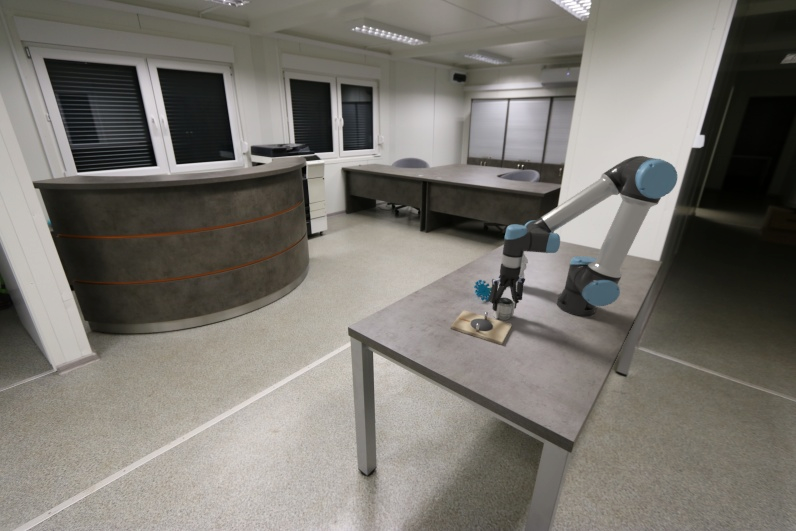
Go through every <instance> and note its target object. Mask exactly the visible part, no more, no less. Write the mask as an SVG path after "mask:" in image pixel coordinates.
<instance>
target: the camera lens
mask: <svg viewBox="0 0 796 531" xmlns="http://www.w3.org/2000/svg"><path fill="white" fill-rule="evenodd" d="M512 300H513V299H512V298H508V297H501V299H500V301H499V304H500V308H499V314H498V319H499V320H500V321H509V320H510V319H511V318H512V317H511V314H512V308H513V301H512ZM498 319H497V320H498Z"/></svg>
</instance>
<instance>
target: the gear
mask: <svg viewBox="0 0 796 531" xmlns="http://www.w3.org/2000/svg"><path fill="white" fill-rule="evenodd" d="M474 283H475V285H474V286H473V288H474V289H475V290H474V293H475V295H476V296H477V297H478V298H480V300H482V301H486V302H488V301H489V297H490V292H491V288H492V286H491V287H490V283H486V281H485V280H482V279H478V281H476V282H474ZM481 296H482V297H481Z"/></svg>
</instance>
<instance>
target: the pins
mask: <svg viewBox="0 0 796 531" xmlns="http://www.w3.org/2000/svg"><path fill="white" fill-rule="evenodd" d="M483 316H484V319H485V320H487V317H489V312H488V311H485V312H484V314H483ZM479 327H480V324H478V323H477V324H476V332H479Z"/></svg>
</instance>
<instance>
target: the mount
mask: <svg viewBox="0 0 796 531" xmlns="http://www.w3.org/2000/svg"><path fill="white" fill-rule="evenodd" d="M474 319H484V315H482V314H477V313H476V312H475V313H474V312H471V311H467V310H463V311H461V313H460V314H459V315H458V316H457V318H456V319H455V320H454V322H453V323H452V324H451V325H450V329H451V330H454V331H457V332H460V333H463V334H466V335H470V336H473V337H476V338H479V339H483V340H484V341H485V340H486V341H488V342H492V343H494V344H498V345H503V344H504V342H505V340H506V338H507V336H508V334H509V333H510V330H511V328H512V326H513V324H512V323H509V322H505V321H504V320H500V319H499V320H498V319H496V318H493V317H489V316H487V320H488V321H489V322H491V323H492V325H493V327H492V329H491V330H489V331H479V332H476V329H474V328H473V327H472V326H471V321H472V320H474Z"/></svg>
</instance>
